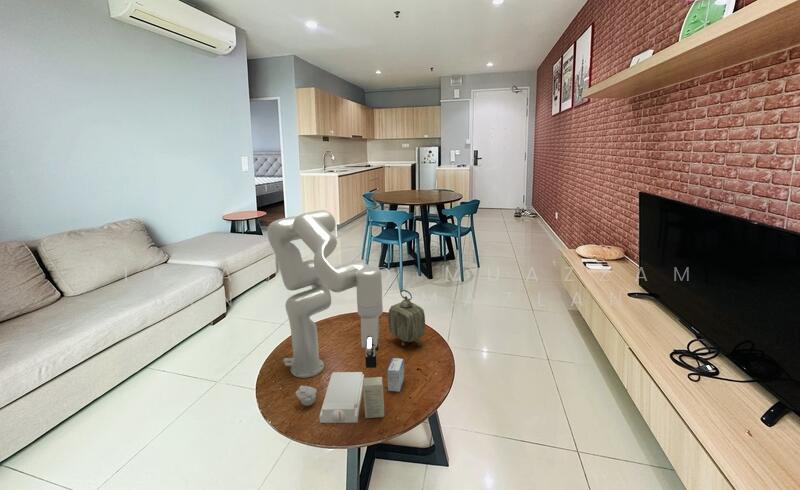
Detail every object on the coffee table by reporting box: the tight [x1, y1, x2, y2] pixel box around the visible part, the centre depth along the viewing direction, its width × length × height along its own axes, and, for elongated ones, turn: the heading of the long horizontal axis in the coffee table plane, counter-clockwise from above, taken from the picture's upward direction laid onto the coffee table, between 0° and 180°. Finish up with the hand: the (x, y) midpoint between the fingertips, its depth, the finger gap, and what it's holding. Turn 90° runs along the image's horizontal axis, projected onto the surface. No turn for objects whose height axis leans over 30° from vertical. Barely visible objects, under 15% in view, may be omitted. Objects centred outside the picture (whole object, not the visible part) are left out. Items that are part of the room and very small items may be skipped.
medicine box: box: [387, 357, 405, 393], centre depth 138 cm, size 8×4×9 cm, turn 168°
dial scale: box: [319, 371, 365, 424], centre depth 131 cm, size 12×22×5 cm, turn 0°
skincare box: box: [362, 376, 385, 419], centre depth 123 cm, size 6×4×12 cm
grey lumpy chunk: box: [295, 384, 318, 407], centre depth 129 cm, size 6×7×7 cm
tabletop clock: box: [388, 289, 426, 347], centre depth 164 cm, size 14×9×25 cm, turn 42°
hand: (372, 358), depth 120 cm, fingers open, 9 cm apart
